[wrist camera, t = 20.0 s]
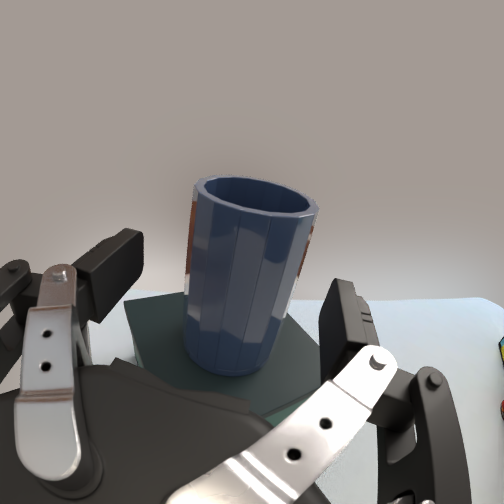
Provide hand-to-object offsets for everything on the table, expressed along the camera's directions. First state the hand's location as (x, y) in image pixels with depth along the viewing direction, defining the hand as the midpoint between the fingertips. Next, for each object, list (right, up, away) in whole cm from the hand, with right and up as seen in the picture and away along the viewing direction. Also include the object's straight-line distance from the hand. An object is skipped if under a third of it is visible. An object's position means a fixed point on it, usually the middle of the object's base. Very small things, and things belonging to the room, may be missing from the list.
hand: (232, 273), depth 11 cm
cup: (-1, -5, +7) cm, 8 cm away
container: (-2, -10, +9) cm, 14 cm away
